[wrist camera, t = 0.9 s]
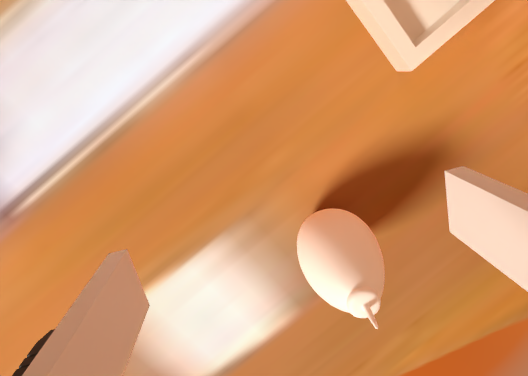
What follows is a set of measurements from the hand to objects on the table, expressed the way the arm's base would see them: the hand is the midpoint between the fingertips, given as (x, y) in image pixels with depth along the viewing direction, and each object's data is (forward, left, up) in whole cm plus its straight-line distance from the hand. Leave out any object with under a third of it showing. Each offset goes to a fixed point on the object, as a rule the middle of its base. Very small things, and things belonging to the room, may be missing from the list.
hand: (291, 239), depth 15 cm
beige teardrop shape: (+13, -2, -26) cm, 29 cm away
